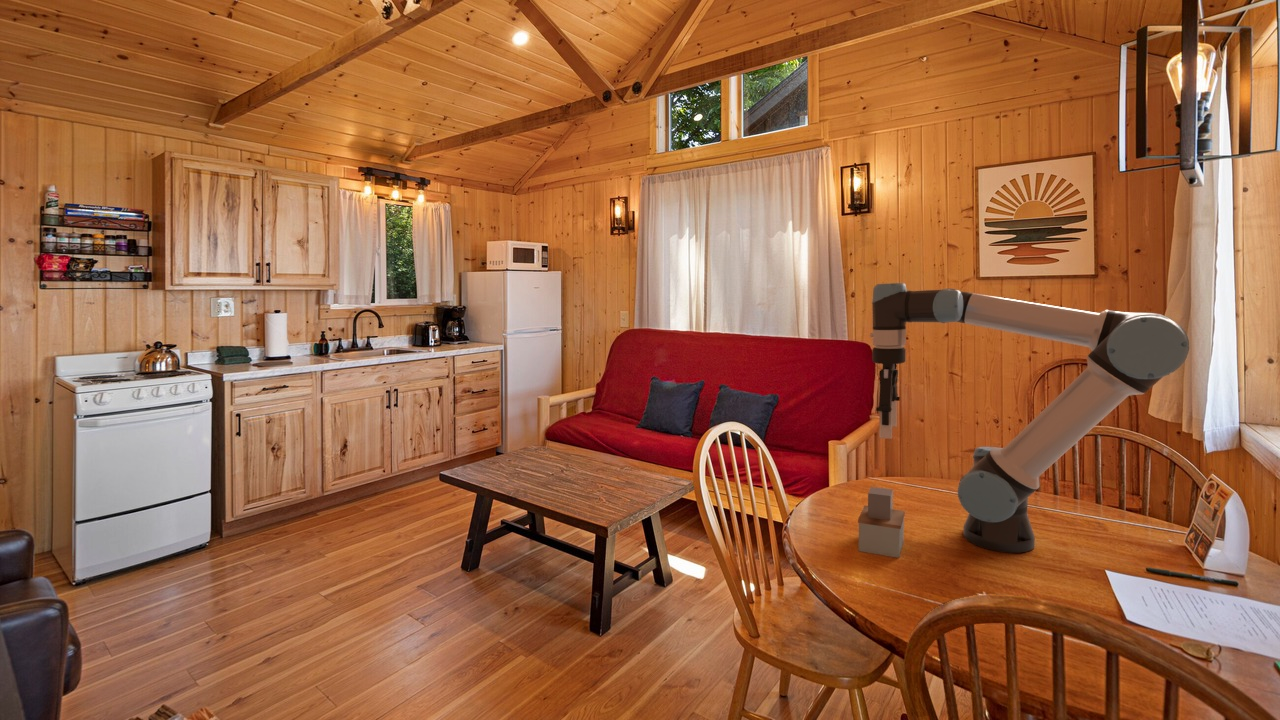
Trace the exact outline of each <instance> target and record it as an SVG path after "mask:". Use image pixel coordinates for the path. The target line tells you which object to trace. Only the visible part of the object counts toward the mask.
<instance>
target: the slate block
mask: <svg viewBox="0 0 1280 720" xmlns="http://www.w3.org/2000/svg"><path fill="white" fill-rule="evenodd" d="M893 501H894V489H892V488H891V489H890V488H883V487H875V486H871V487H870V488H869V491H868V493H867V506H868V517H869V518H876V519H883V520H891V517H892V514H893V509H894V506H893V505H894V502H893Z"/></svg>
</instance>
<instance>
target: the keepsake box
mask: <svg viewBox="0 0 1280 720" xmlns="http://www.w3.org/2000/svg"><path fill="white" fill-rule="evenodd" d="M904 519H905V518H904ZM904 519H903V523H902V526H901V529H896V528H890V527H883V526H876V525H869V524H863V523H858V550H857V551H858V552H862V553H868V554H873V555H874V554H875V555H879V556H885V557H890V558H891V557H892V558H898V559H900V557H901V551H902V548H903V545H904V531H905V530H904V527H905V526H904V525H905V524H904V523H905V520H904Z"/></svg>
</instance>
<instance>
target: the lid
mask: <svg viewBox="0 0 1280 720" xmlns="http://www.w3.org/2000/svg"><path fill="white" fill-rule="evenodd" d="M905 515H906V510H901V509H894V508H893V514H892V517H891V520H883V519H876V518H869V517H868V505H864V506H863V508H862V510H861V512H860V514H859V517H858V519H857V523H858V524H859V523H863V524H869V525H876V526H883V527H890V528H896V529H901V526H902V523H903V519H905Z"/></svg>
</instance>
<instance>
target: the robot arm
mask: <svg viewBox="0 0 1280 720" xmlns="http://www.w3.org/2000/svg"><path fill="white" fill-rule="evenodd" d="M872 289H873V290H872V302H871V305H872V333H870V334H869V337H870V338H872V346H874V347H872V350H871V351H872V352H871V353H872V355H871V356H872V358H871V359H872V362H873V363H874V364H879V365H880V364H881V365H882V369H881V368H880V370H879V374H878V375H879V401H878V407H876V408H875V410H876V412H879V415H878V416H879V418H878V419H879V423H878V424H879V430H878V431H879V432H878V433H879V436H878V437H879V439H887V440H888V439H890V440H892V439H893V428H897V427H898V422H897V421H898V417H897V416H898V402H899V401H900V400H901V399H900V398H901V397H900V396H898V377H899V376H898V375H899V370H898V369H897V366H898V365H900V364H903V363H905V362H906V357H907V355H906V353H907V352H906V348H905V347H904V346H906V345H907V344H906V343H907V329H906V328H907V327H906V325H907V323H941V324H945V323H961V324H967V325H972V326H978V327H982V328H988V329H992V330H998V331H1003V332H1009V333H1014V334H1019V335H1024V336H1030V337H1034V338H1040V339H1045V340H1048V341H1049V340H1050V341H1054V342H1055V341H1056V342H1059V343H1063V344H1064V343H1066V344H1070V345H1071V344H1072V345H1074V346H1075V345H1076V346H1081V347H1086V348H1088V349H1089V350H1090V353H1089V354H1088V355H1087V356H1086V360H1087V362H1086V363H1087V367H1086V368H1085V369H1084V370H1083V371H1082V372H1081V373H1080V374H1079V375H1078V376H1076V378H1075V379H1074V380H1073V381H1072V382H1071V383H1070V384H1069V385H1068V386H1066V387H1065V388H1064V389H1063V390H1062V391H1061V392H1060V393H1059V394H1058V395H1057V397H1055V398H1054V399H1053V400H1052V401H1050V403H1049V404H1048V405H1047V406H1046V407H1045V408H1044V409H1043V410H1042V411H1040V413H1039V414H1038V415H1037V416H1036V417H1034V418H1033V419H1032V421H1030V422H1029V423H1028V424H1027V425H1026V426H1025V427H1024V428H1023V429H1022V430H1021V431H1019V432H1018V434H1017V435H1016V436H1014V438H1013V439H1011V440H1010V441H1009V443H1007V445H1006V446H1004V447H995V446H978V447H976V448H975V449H974V451H973V456H972V459H973V466H972V467H971V468H970V469H969V470H968V471H967V473H966V474H964V475H963V476H962V477H961V478H960V482H959V483H958V488H957V497H958V500H959V503H960V504H961V507H962V508H963V509H964V510H965V512H966V513H968V515H967V517H966V520H965V522H964V525H963V534H962V535H963V537H964V539H965V540H966V541H967V542H968V543H971V544H973V545H974V546H978V547H979V548H983V549H986V550H990V551H994V552H999V553H1001V552H1002V553H1009V554H1012V553H1013V554H1014V553H1015V554H1018V553H1019V554H1020V553H1026V552H1029V551H1032V550H1033V549H1035V545H1036V544H1035V543H1036V541H1035V540H1036V539H1035V538H1036V537H1035V534H1034V530H1033V527H1032V525H1031V524H1032V523H1031V521H1030V518H1029V516H1028V506H1029V505H1028V502H1029V497H1030V496H1031V495H1032V494H1033V493H1035V492H1036V491H1037V490H1038V489H1039V488H1040V476H1042V474H1044V472H1046V471H1047V470H1048V469H1049V468H1050V467H1051V466H1052V465H1053V464H1054V463H1056V462H1057V461H1058V460H1059V459H1060V458H1061V457H1062V456H1063V455H1065V454H1066V453H1067V452H1068V451H1069V450H1070V449H1071V448H1072V447H1074V445H1076V444H1077V443H1078V442H1079V441H1080V440H1081V439H1082V438H1083V437H1085V436H1086V434H1088V433H1089V432H1090V431H1091V430H1092V429H1093V428H1094V427H1096V426H1097V425H1098V424H1099V423H1100V422H1101V421H1102V420H1103V419H1105V418H1106V417H1107V416H1108V415H1109V414H1110V413H1111V412H1112V411H1113V410H1114V409H1116V408H1117V407H1118V406H1119V405H1120V404H1121V403H1122V402H1123V401H1125V400H1126V399H1127V398H1129V396H1130V397H1131V396H1136V395H1144V394H1146V393H1147V392H1148V391H1149V390H1150V389H1151V388H1153V387H1154V386H1155V385H1156V384H1158V382H1159V381H1160V380H1162V379H1163V378H1164V377H1166V376H1169V375H1170V374H1171V373H1172V374H1173V373H1174V372H1176V371H1177V370H1178V369H1179V368H1180V367H1181V366H1182V365H1183V364H1184V363H1185V361H1186V359H1187V357H1188V354H1189V350H1190V340H1189V337H1188V334H1187V332H1186V331H1185V330H1184V328H1183V327H1182V326H1181V325H1180V324H1179V323H1177V322H1176V321H1175V320H1173V319H1171V318H1170V317H1168V316H1166V315H1163V314H1160V313H1155V312H1129V311H1125V312H1124V311H1115V310H1109V309H1105V310H1103V311H1100V312H1093V311H1086V310H1080V309H1075V308H1069V307H1063V306H1062V307H1061V306H1055V305H1050V304H1043V303H1036V302H1031V301H1024V300H1017V299H1012V298H1006V297H1005V298H1004V297H1000V296H993V295H987V294H981V293H975V292H974V293H973V292H969V291H962V290H959V289H956V288H955V289H954V288H944V289H926V290H925V289H924V290H908V289H907V285H906V283H905V282H895V283H894V282H893V283H878V284H875V285H874V287H873V288H872Z"/></svg>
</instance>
